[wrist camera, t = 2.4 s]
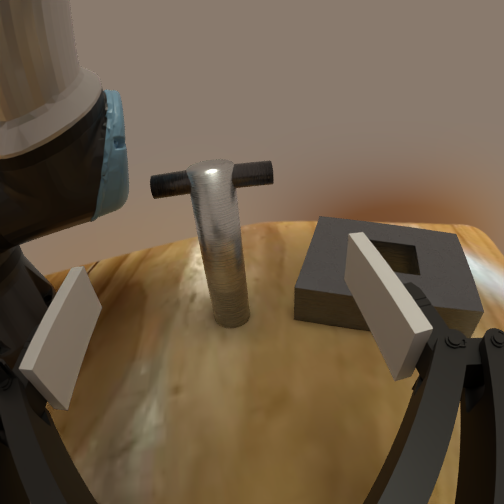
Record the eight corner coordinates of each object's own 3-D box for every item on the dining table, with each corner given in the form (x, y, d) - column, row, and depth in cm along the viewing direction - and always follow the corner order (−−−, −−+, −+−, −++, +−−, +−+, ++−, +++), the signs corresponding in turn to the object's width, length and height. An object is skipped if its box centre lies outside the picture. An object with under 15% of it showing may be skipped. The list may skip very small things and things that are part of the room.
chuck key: (186, 332, 28) (146, 183, 20) (188, 307, 31) (155, 168, 23) (280, 322, 29) (274, 166, 21) (274, 298, 32) (267, 154, 24)
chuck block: (294, 319, 29) (294, 287, 27) (318, 243, 40) (319, 216, 38) (468, 341, 23) (483, 311, 21) (448, 260, 34) (456, 234, 32)
